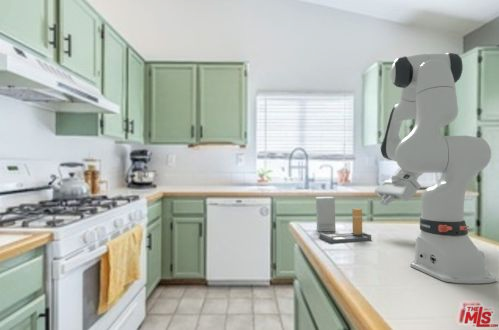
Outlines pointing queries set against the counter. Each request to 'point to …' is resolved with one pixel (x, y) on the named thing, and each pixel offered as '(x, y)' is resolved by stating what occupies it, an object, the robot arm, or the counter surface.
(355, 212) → the tan tall block
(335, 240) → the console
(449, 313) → the counter surface
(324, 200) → the skincare box
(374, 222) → the counter surface
